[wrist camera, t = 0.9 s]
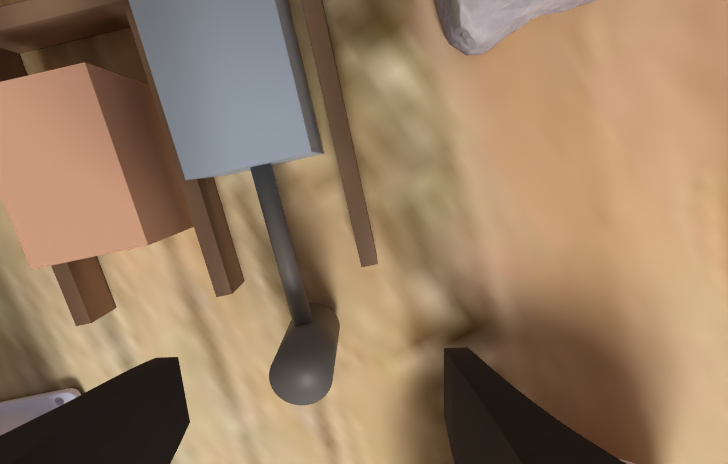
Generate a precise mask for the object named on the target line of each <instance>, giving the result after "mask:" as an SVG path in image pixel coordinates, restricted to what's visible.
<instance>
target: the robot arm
mask: <svg viewBox="0 0 728 464" xmlns="http://www.w3.org/2000/svg"><path fill="white" fill-rule="evenodd" d="M61 398H62V399H63V400H62V399H61ZM444 417H445V422H446V427H447V432H448V437H449V441H450V446H451V451H452V455H453V458H454V461H455V464H626V463H625V462H623V461H621V460H620V459H618V458H616V457H614V456H613V455H611V454H609V453H608V452H606V451H605V450H603V449H601V448H600V447H598V446H597V445H595V444H593V443H592V442H590V441H589V440H587V439H585V438H584V437H582V436H581V435H579V434H577V433H576V432H575V431H573V430H572V429H570V428H569V427H567V426H566V425H564V424H563V423H561V422H560V421H558V420H557V419H556V418H554V417H553V416H551V415H550V414H549V413H547V412H546V411H545V410H543V409H542V408H540V407H539V406H538V405H536V404H535V403H534V402H532V401H531V400H530V399H528V398H527V397H526V396H525V395H523V394H522V393H521V392H520V391H518V390H517V389H516V388H515V387H513V386H512V385H511V384H510V383H508V382H507V381H506V380H505V379H504V378H502V377H501V376H500V375H499V374H498V373H496V372H495V371H494V370H493V369H492V368H491V367H489V366H488V365H487V364H486V363H485V362H484V361H483V360H481V359H480V358H479V357H478V356H477V355H476V354H474V353H473V352H472V351H471V350H470V349H468V348H444ZM189 423H190V420H189V414H188V409H187V404H186V398H185V393H184V387H183V382H182V376H181V371H180V365H179V360H178V357H168V358H155V359H152V360H150V361H147V362H145V363H143V364H140V365H138V366H136V367H134V368H132V369H130V370H128V371H126V372H124V373H122V374H120V375H118V376H116V377H114V378H113V379H111V380H109V381H107V382H105V383H103V384H101V385H99V386H97V387H95V388H93V389H91V390H90V391H88V392H86V393H84V394H82V395H81V393H80V392H79V391H78V390H77V389H74V388H68V389H62V390H57V391H52V392H47V393H42V394H37V395H32V396H27V397H22V398H17V399H12V400H7V401H2V402H0V464H170V463H171V461H172V459H173V457H174V455H175V453H176V451H177V449H178V447H179V445H180V443H181V440H182V438H183V436H184V434H185V432H186V429H187V427H188V425H189Z"/></svg>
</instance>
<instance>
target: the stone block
mask: <svg viewBox="0 0 728 464" xmlns="http://www.w3.org/2000/svg"><path fill="white" fill-rule="evenodd" d="M593 1H596V0H435V3H436V7H437V11H438V14H439V18H440V21H441V24H442V28H443V31H444V34H445V37H446V39H447V40H448V42H449V44H450V45H452V46H453V47H455V48H456V49H458V50H459V51H461V52H462V53H464V54H465V55H481V54H483V53H484V52H486V51H488V50H489V49H491V48H493V47H494V46H495V45H496V44H497V43H498V42H500V41H501V40H502V39H504V38H505V37H506V36H507V35H509V34H511V33H513V32H514V31H516V30H517V29H519V28H520V27H522V26H523V25H525V24H526V23H527V22H528V21H530V20H532V19H534V18H536V17H538V16H540V15H547V14H551V13H560V12H564V11H567V10H570V9H572V8H574V7H577V6H579V5H582V4H588V3H590V2H593Z"/></svg>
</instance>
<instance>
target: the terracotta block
mask: <svg viewBox="0 0 728 464" xmlns="http://www.w3.org/2000/svg"><path fill="white" fill-rule="evenodd" d="M0 197H1V199H2V201H3V204H4V206H5V209H6V211H7V213H8V216H9V218H10V220H11V223H12V225H13V227H14V230H15V232H16V235H17V237H18V239H19V242H20V244H21V246H22V249H23V251H24V253H25V256H26V258H27V261H28V263H29V265H30V268H31V270H32V269H37V268H42V267H46V266H51V265H56V264H61V263H65V262H70V261H75V260H80V259H85V258H89V257H94V256H99V255H104V254H108V253H113V252H118V251H123V250H127V249H132V248H137V247H142V246H146V245H150V244H152V243H155V242H157V241H160V240H162V239H164V238H167V237H169V236H172V235H174V234H177V233H179V232H182V231H184V230H187V229H189V228H192V227H194V225H193V222H192V219H191V215H190V212H189V209H188V206H187V203H186V200H185V197H184V193H183V190H182V187H181V184H180V181H179V178H178V175H177V171H176V168H175V165H174V162H173V159H172V156H171V153H170V149H169V146H168V143H167V140H166V137H165V134H164V131H163V127H162V124H161V121H160V118H159V115H158V112H157V109H156V105H155V102H154V99H153V96H152V93H151V90H150V87H149V84H146V83H143V82H140V81H137V80H135V79H132V78H129V77H126V76H123V75H120V74H117V73H114V72H111V71H109V70H106V69H103V68H100V67H97V66H94V65H91V64H88V63H85V62H84V63H80V64H75V65H71V66H67V67H62V68H58V69H54V70H49V71H45V72H41V73H37V74H32V75H28V76H24V77H19V78H15V79H11V80H6V81H2V82H0Z"/></svg>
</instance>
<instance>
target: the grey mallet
mask: <svg viewBox="0 0 728 464" xmlns="http://www.w3.org/2000/svg"><path fill="white" fill-rule="evenodd" d="M129 3H130V6H131V10H132V13H133V16H134V19H135V22H136V25H137V29H138V32H139V35H140V38H141V41H142V44H143V47H144V51H145V54H146V57H147V60H148V63H149V66H150V69H151V73H152V76H153V79H154V82H155V85H156V88H157V91H158V95H159V98H160V101H161V104H162V107H163V110H164V113H165V117H166V120H167V123H168V126H169V129H170V132H171V136H172V139H173V142H174V145H175V148H176V151H177V154H178V158H179V161H180V164H181V167H182V170H183V173H184V176H185V180H191V179H200V178H208V177H216V176H225V175H231V174H235V173H240V172H244V171H249V170H251V173H252V176H253V180H254V183H255V187H256V191H257V194H258V198H259V201H260V205H261V208H262V212H263V216H264V219H265V223H266V226H267V230H268V234H269V237H270V241H271V244H272V248H273V251H274V255H275V259H276V262H277V266H278V269H279V273H280V277H281V280H282V284H283V287H284V291H285V295H286V298H287V302H288V305H289V309H290V312H291V316H292V320H291V322H290V324H289V327H288V329H287V331H286V333H285V336H284V338H283V340H282V343H281V345H280V347H279V349H278V352H277V354H276V356H275V358H274V361H273V363H272V365H271V368H270V372H269V380H270V384H271V387H272V389H273V390H274V392H275V393H276V394H277V395H278V396H279V397H280V398H281V399H283V400H284V401H286V402H288V403H291V404H295V405H309V404H313V403H315V402H317V401H319V400H321V399H322V398H323V397H324V396H325V395H326V394H327V393H328V391H329V390H330V388H331V385H332V380H333V373H334V365H335V358H336V351H337V343H338V336H339V328H340V324H339V320H338V318H337V316H336V314H335V313H334V312H333V311H332V310H331V309H330V308H328V307H327V306H325V305H322V304H308V300H307V296H306V292H305V288H304V285H303V281H302V277H301V273H300V270H299V266H298V262H297V258H296V255H295V251H294V247H293V243H292V240H291V236H290V232H289V228H288V225H287V221H286V217H285V213H284V210H283V206H282V202H281V198H280V195H279V191H278V187H277V183H276V179H275V176H274V172H273V168H272V165H276V164H280V163H285V162H289V161H294V160H298V159H302V158H307V157H311V156H316V155H320V154H324V151H323V147H322V143H321V139H320V134H319V130H318V126H317V122H316V117H315V113H314V109H313V104H312V100H311V96H310V92H309V87H308V83H307V79H306V75H305V70H304V66H303V62H302V58H301V53H300V49H299V45H298V41H297V36H296V32H295V28H294V24H293V19H292V15H291V11H290V6H289V2H288V0H129Z"/></svg>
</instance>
